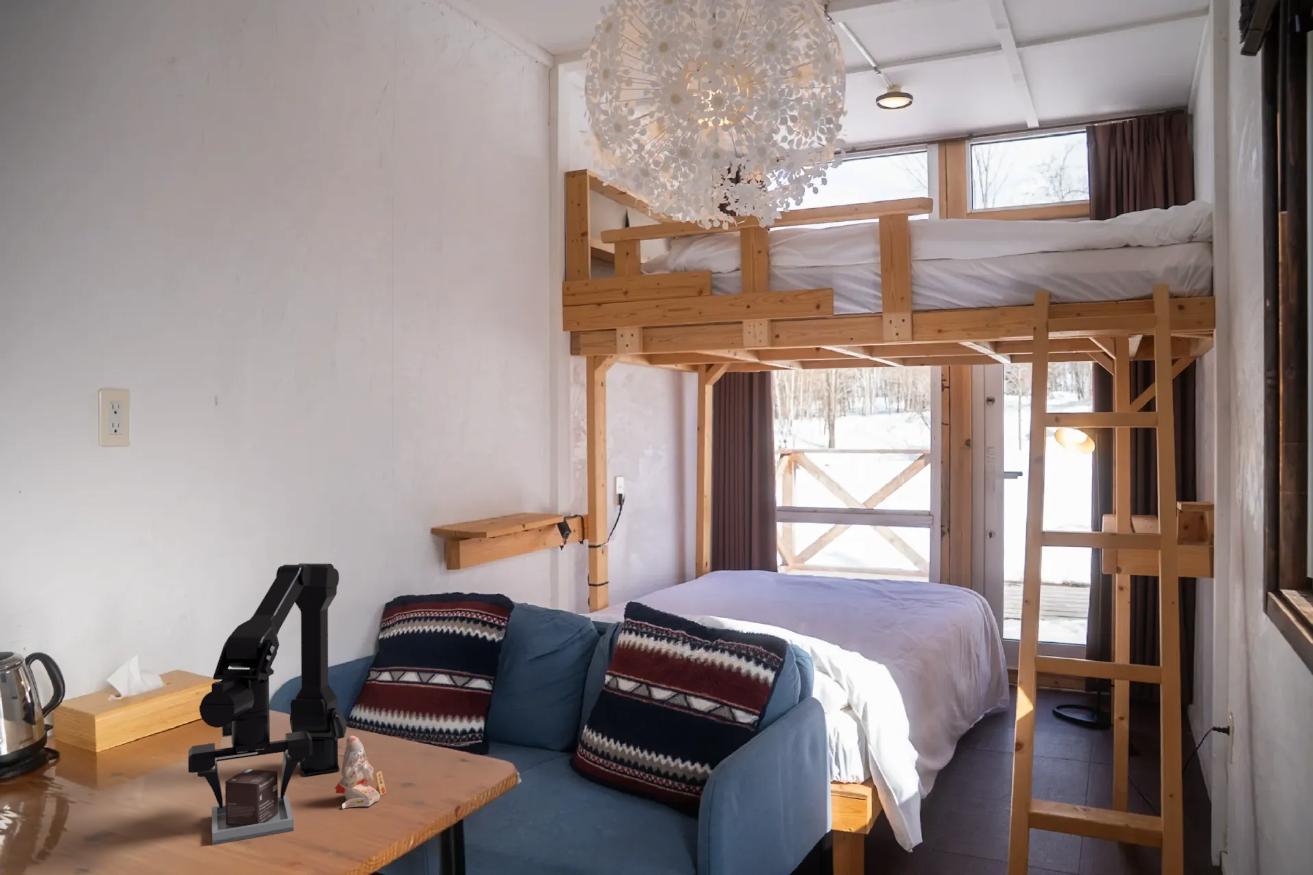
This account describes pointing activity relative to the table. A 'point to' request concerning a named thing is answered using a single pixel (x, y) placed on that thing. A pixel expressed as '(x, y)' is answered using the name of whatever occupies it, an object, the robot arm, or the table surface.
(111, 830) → the table surface
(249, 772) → the box
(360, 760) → the figurine
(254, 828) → the tray
